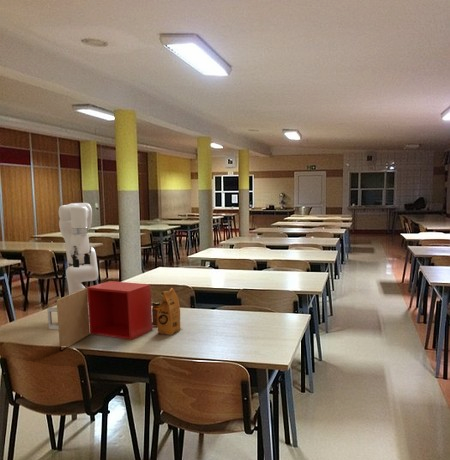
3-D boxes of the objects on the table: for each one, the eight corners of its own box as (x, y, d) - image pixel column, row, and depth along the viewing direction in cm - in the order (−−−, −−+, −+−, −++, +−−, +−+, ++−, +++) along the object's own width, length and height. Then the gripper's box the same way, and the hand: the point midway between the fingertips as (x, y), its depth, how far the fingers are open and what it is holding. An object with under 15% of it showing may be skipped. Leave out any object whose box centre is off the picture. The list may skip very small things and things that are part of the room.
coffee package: (154, 333, 249) (152, 291, 246) (167, 327, 260) (165, 286, 257) (171, 335, 245) (169, 293, 242) (183, 329, 256) (182, 288, 253)
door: (46, 350, 227) (43, 299, 224) (76, 333, 252) (73, 287, 249) (61, 350, 225) (58, 300, 222) (89, 333, 251) (87, 288, 247)
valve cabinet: (131, 339, 240) (129, 291, 236) (89, 333, 251) (87, 287, 248) (152, 329, 256) (150, 284, 252) (112, 324, 267) (110, 280, 264)
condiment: (166, 324, 266) (165, 302, 264) (152, 327, 261) (151, 305, 259) (160, 321, 272) (159, 300, 270) (146, 324, 267) (145, 302, 265)
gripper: (82, 229, 249) (84, 262, 252) (62, 233, 233) (65, 268, 235) (95, 229, 247) (97, 263, 250) (76, 233, 231) (78, 268, 233)
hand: (81, 265), depth 242 cm, fingers open, 9 cm apart
